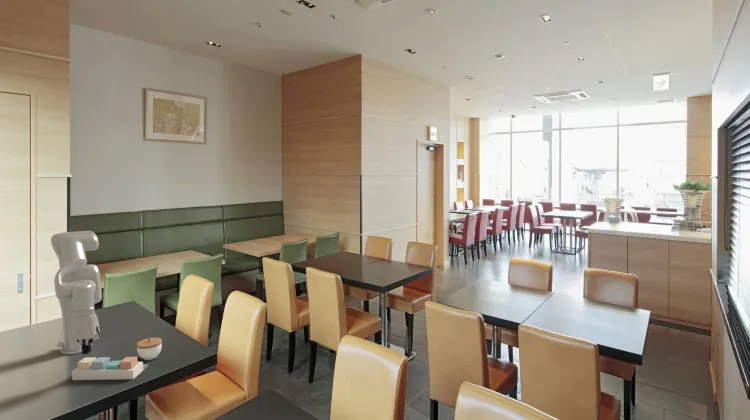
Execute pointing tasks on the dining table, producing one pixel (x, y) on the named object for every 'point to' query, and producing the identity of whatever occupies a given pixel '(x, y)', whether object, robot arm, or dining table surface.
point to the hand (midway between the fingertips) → (86, 353)
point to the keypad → (108, 373)
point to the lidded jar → (149, 348)
